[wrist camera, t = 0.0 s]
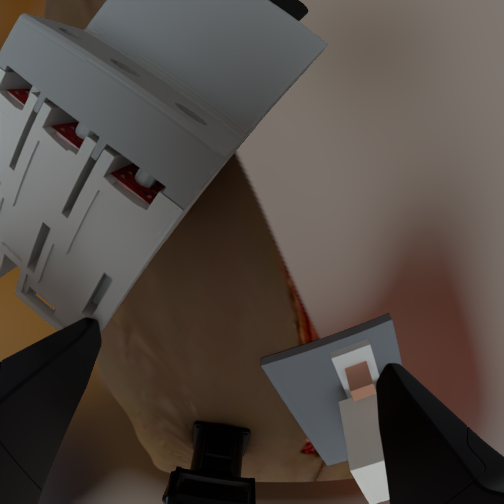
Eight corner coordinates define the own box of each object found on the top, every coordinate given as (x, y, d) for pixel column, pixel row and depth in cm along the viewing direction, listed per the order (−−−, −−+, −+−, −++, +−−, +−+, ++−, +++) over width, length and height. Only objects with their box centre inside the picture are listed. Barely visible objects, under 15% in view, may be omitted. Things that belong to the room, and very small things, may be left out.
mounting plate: (326, 459, 36) (329, 487, 32) (261, 358, 28) (259, 395, 24) (411, 432, 33) (420, 459, 29) (388, 312, 26) (405, 346, 22)
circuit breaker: (314, 61, 18) (398, -26, 5) (184, 216, 23) (85, 357, 9) (226, -1, 17) (164, -138, 3) (106, 157, 21) (-53, 228, 8)
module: (355, 450, 31) (365, 507, 24) (331, 399, 27) (342, 472, 20) (406, 433, 30) (423, 489, 22) (395, 376, 26) (421, 446, 18)
